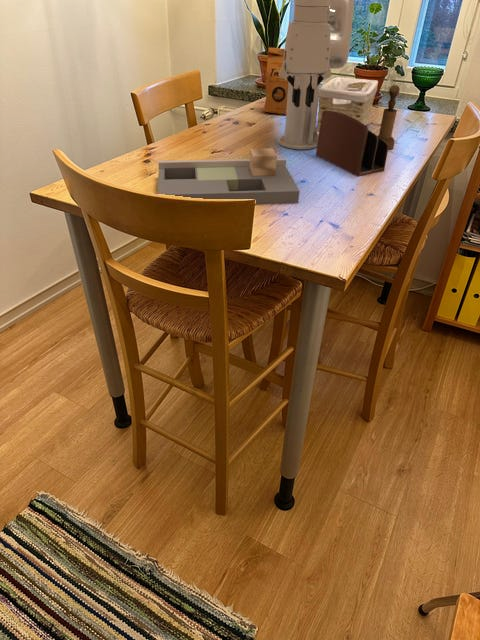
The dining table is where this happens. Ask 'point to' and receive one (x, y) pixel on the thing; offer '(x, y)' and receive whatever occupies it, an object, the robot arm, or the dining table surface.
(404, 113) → the dining table surface
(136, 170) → the dining table surface
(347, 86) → the storage basket
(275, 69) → the coffee package
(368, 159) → the letter holder
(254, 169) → the beech block
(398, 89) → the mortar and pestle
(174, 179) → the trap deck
